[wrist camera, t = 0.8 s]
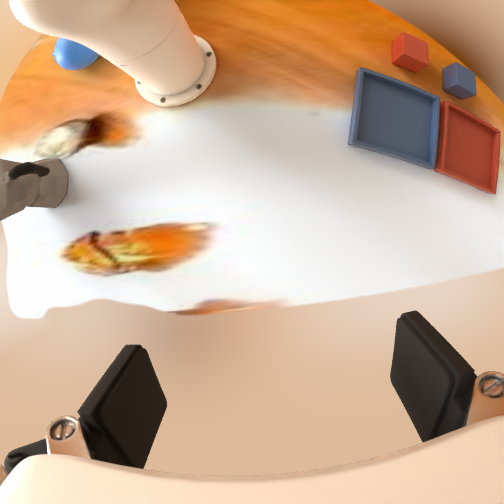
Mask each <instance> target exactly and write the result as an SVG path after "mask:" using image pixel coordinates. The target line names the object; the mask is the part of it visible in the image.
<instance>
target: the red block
mask: <svg viewBox="0 0 504 504" xmlns="http://www.w3.org/2000/svg"><path fill="white" fill-rule="evenodd" d="M392 64H395V65H398V66H400V67H403V68H405V69H408V70H410V71H413V72H415V73H416V72H417V71H419V70H420V69H422V68H424V67H425V66H427V65H428V46H427V42H425V41H423V40H420V39H418V38H416V37H414V36H411V35H409V34H407V33H404V32H402V33H401V34H400V35H399V36H398V37H397V38H396V39H395V40H394V41H393V42H392Z"/></svg>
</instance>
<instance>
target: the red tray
mask: <svg viewBox="0 0 504 504" xmlns="http://www.w3.org/2000/svg"><path fill="white" fill-rule="evenodd" d="M499 155H500V131H499V130H498V129H496V128H494V127H493V126H491V125H490V124H488V123H486V122H485V121H483V120H481V119H480V118H478V117H476V116H474V115H473V114H471V113H469V112H467V111H465V110H464V109H462V108H460V107H458V106H456V105H454V104H452V103H450V102H448V101H444V102H441V103H440V120H439V135H438V147H437V156H436V165H435V171H436V172H439V173H442V174H444V175H447V176H449V177H452V178H454V179H457V180H459V181H462V182H464V183H467V184H469V185H471V186H474V187H476V188H478V189H481V190H483V191H485V192H487V193H490V194H496V187H497V178H498V168H499Z"/></svg>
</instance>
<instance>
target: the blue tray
mask: <svg viewBox="0 0 504 504" xmlns="http://www.w3.org/2000/svg"><path fill="white" fill-rule="evenodd" d="M439 113H440V97H438V96H435V95H433V94H431V93H429V92H427V91H424V90H422V89H420V88H417V87H415V86H412V85H410V84H407V83H405V82H402V81H400V80H397V79H394V78H392V77H389V76H386V75H383V74H380V73H377V72H374V71H371V70H368V69H365V68H362V67H360V68H359V69H358V70H357V71H356V83H355V93H354V102H353V111H352V119H351V127H350V135H349V142H348V145H352V146H356V147H360V148H363V149H367V150H371V151H374V152H378V153H381V154H385V155H388V156H391V157H394V158H398V159H401V160H404V161H407V162H410V163H413V164H416V165H419V166H422V167H425V168H428V169H435V162H436V153H437V143H438V130H439Z"/></svg>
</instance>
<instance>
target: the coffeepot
mask: <svg viewBox="0 0 504 504" xmlns="http://www.w3.org/2000/svg"><path fill="white" fill-rule="evenodd" d="M67 187H68V173H67V171H66V168H65V166H64V165H63V163H62V162H61V161H60V159H43V160H39V161H35V162H32V163H31V162H25V163H18V162H13V161H8V160H2V159H0V221H1V220H3V219H5V218H7V217H9V216H11V215H13V214H15V213H17V212H19V211H22V210H24V208H25V207H26V206H28V207H47V208H56V207H57V206H58V204H59V203H60V202H61V201H62V200H63V199H64V197H65V196H66V193H67Z"/></svg>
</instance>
